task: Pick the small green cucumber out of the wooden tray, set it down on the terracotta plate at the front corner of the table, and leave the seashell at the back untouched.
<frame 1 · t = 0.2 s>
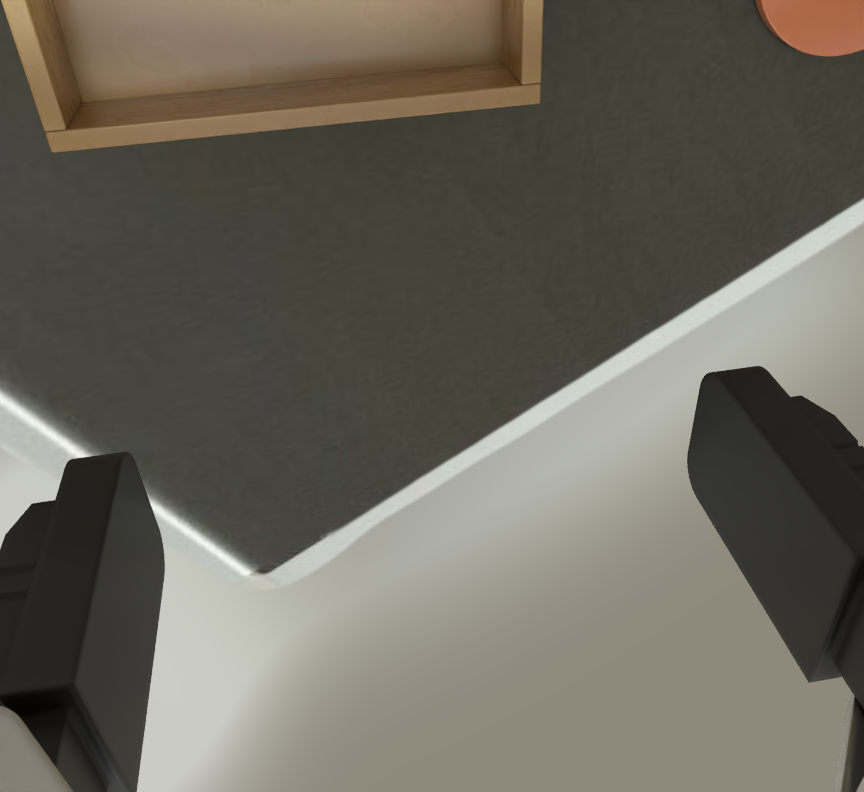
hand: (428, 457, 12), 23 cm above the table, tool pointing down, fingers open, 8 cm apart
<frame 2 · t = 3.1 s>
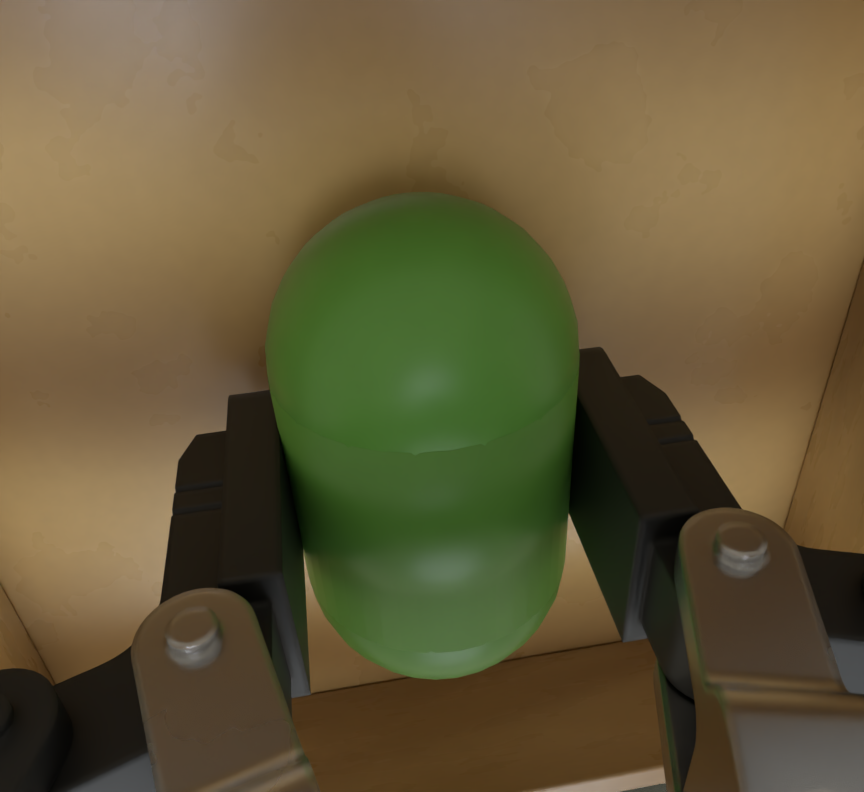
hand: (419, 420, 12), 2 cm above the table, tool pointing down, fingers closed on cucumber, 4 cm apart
cucumber: (409, 376, 13), point 1 cm above the table, touching wooden tray, gripper
wooden tray: (405, 356, 14), on the table
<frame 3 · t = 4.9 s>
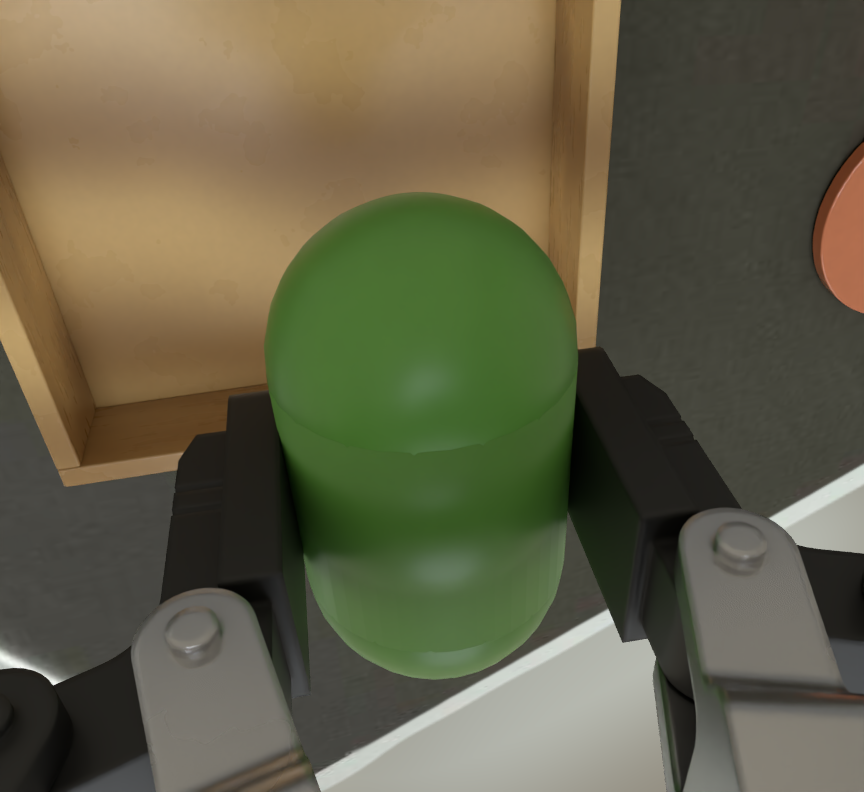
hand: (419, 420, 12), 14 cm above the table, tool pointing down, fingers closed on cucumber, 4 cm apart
cucumber: (408, 376, 13), point 13 cm above the table, touching gripper
wooden tray: (288, 131, 23), on the table
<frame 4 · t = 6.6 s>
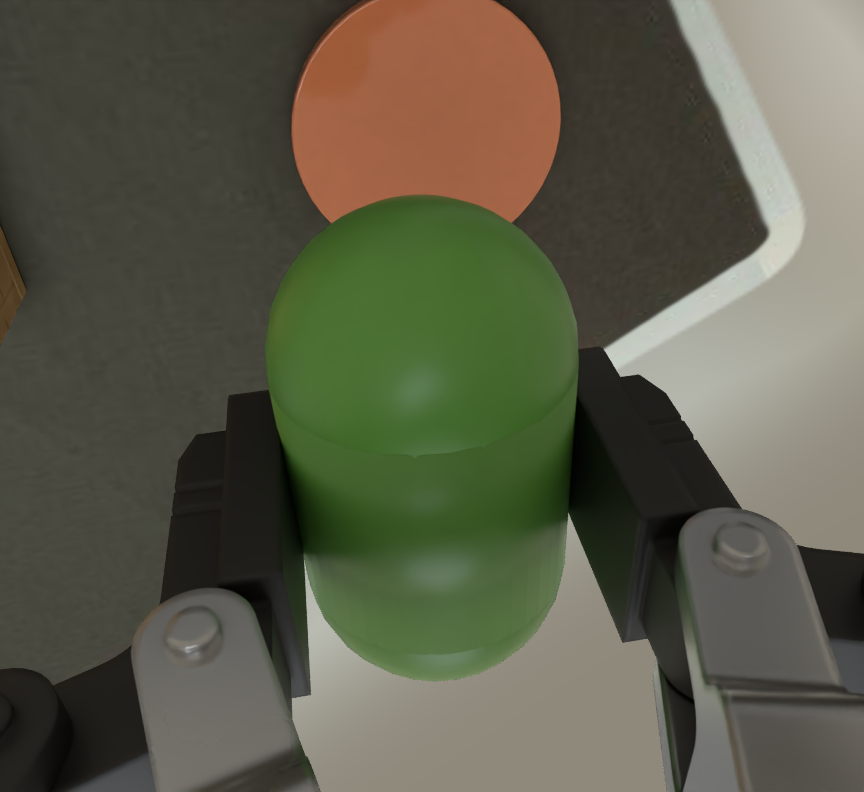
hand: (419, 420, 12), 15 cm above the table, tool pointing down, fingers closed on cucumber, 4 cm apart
cucumber: (409, 378, 13), point 13 cm above the table, touching gripper
plate: (426, 128, 25), on the table
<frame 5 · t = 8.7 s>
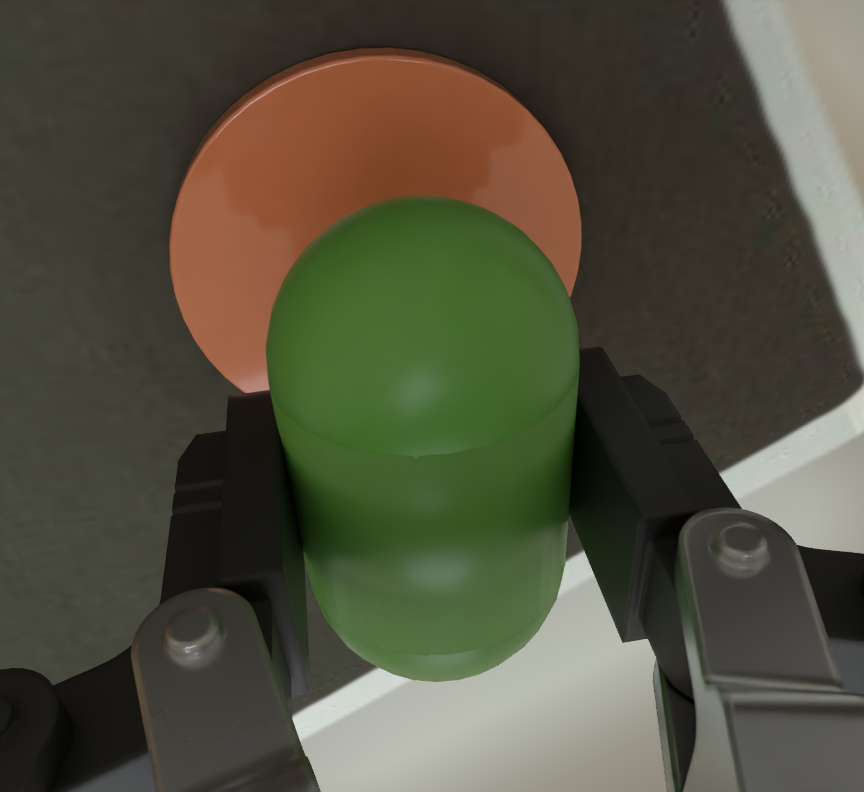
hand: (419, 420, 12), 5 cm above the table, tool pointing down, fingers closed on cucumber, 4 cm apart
cucumber: (409, 378, 13), point 4 cm above the table, touching gripper
plate: (380, 257, 16), on the table
when the fingers open (2 cm above the table, at t = 10.0 s): cucumber stays where it is, resting on plate.
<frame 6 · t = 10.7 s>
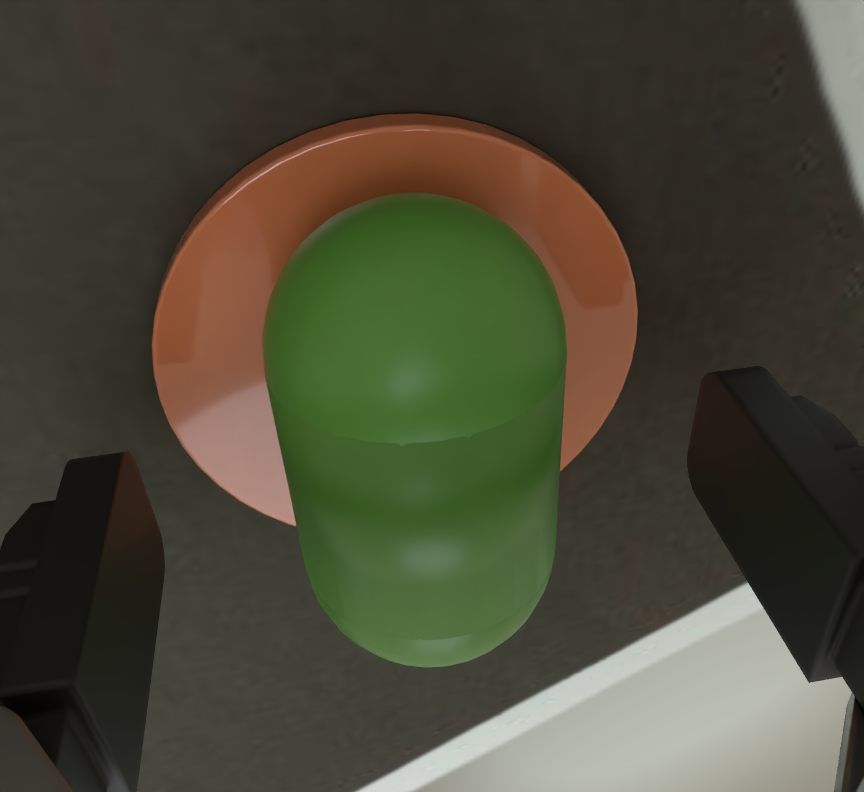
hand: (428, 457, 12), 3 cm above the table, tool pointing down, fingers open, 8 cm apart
cucumber: (407, 372, 14), point 1 cm above the table, touching plate
plate: (400, 348, 14), on the table
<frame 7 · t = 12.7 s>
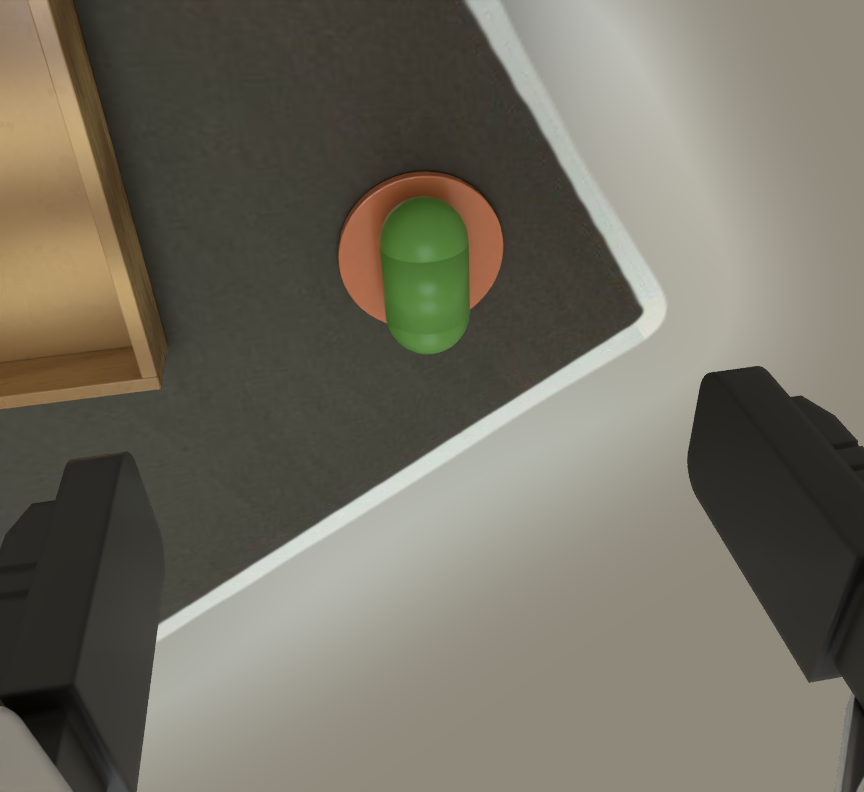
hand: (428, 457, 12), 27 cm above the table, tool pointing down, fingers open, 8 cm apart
cucumber: (422, 258, 39), point 1 cm above the table, tilted 5°, touching plate
plate: (420, 251, 40), on the table
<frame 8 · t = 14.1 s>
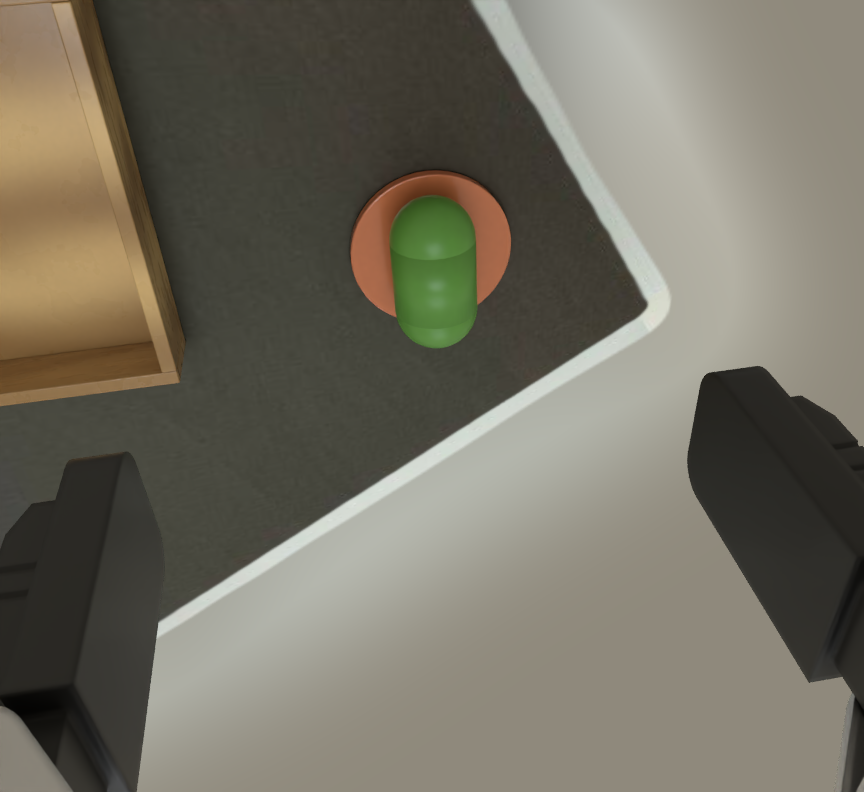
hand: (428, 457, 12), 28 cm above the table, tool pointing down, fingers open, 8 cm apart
cucumber: (432, 254, 41), point 1 cm above the table, tilted 7°, touching plate
plate: (430, 247, 41), on the table
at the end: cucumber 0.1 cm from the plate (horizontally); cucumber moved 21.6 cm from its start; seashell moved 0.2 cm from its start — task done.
